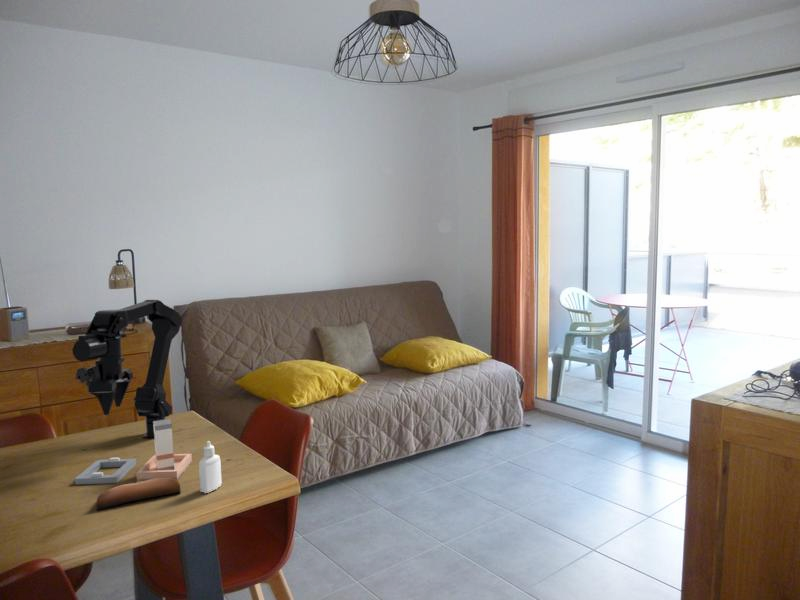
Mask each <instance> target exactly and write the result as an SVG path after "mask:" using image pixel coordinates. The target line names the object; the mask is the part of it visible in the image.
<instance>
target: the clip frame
mask: <svg viewBox="0 0 800 600" xmlns="http://www.w3.org/2000/svg"><path fill="white" fill-rule="evenodd" d="M136 465H137V459H136V458H120V457H110V458H109V459H97V460H96V461H94V462H93V463H92V464H90V466H88V467H87V468H86V469H85V470H83V472H81V473H80V474H79V475H77V476H76V477H75V478H74V484H75V485H93V484H95V485H96V484H98V485H99V484H101V485H102V484H117V483H119V482H120V480H121V479H123V478H124V477H125V475H127V474H128V473H129V472H130V471H131V470H132V469H133V468H134V467H135V466H136ZM102 468H118V469H117V470H116V471H115V472H113V474H104V471H103V472H102V471H99V470H100V469H102Z"/></svg>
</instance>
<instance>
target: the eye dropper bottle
mask: <svg viewBox="0 0 800 600" xmlns="http://www.w3.org/2000/svg"><path fill="white" fill-rule="evenodd" d="M198 470H199V471H198V474H199V475H198V476H199V489H200V490H199V492H200V493H201V492H204V493H203V494H206V493H208V492H211V491H213V490H215V489H217V488H218V487H220V486H222V485H221V484H223V483H222V481H223V480H222V467H221V456H220V455H219V454H215V446H214V445H213V444H211V441H210V440H207V441H206V446H204V447H203V457H202V458H201V459H200V461H199V463H198ZM220 488H221V487H220ZM217 490H218V489H217ZM211 493H212V492H211ZM208 494H209V493H208Z"/></svg>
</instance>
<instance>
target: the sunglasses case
mask: <svg viewBox="0 0 800 600" xmlns="http://www.w3.org/2000/svg"><path fill="white" fill-rule="evenodd" d="M180 492H181V484H180V482H179V480H176V479H173V478H155V479H150V480H146V481H143V482H140V481H139V482H137V481H135V482H134V483H132V482H131V483H126V484H120V485H117V486H114V487H111V488H110V489H107V490H105V491H104V492H101V493H100V494H99V495H98V496H97V499H96V511H99V510H102V509H107V508H110V507H114V506H118V505H120V504H125V503H128V502H133V501H135V502H136V501H139V500H140V501H141V500H145V499H149V498H155V497H156V498H157V497H159V496H164V495H170V494H178V493H179V494H181V493H180Z"/></svg>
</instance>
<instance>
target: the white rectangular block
mask: <svg viewBox="0 0 800 600" xmlns="http://www.w3.org/2000/svg"><path fill="white" fill-rule="evenodd" d="M153 426H154V437H153V439H154V455H155V456H156V468H157V470H174V454H175V453H174V443H173V442H174V441H173V440H174V439H173V428H172V422H171V419H170V418H167V419H166V418H165V420H159V421H153Z"/></svg>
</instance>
